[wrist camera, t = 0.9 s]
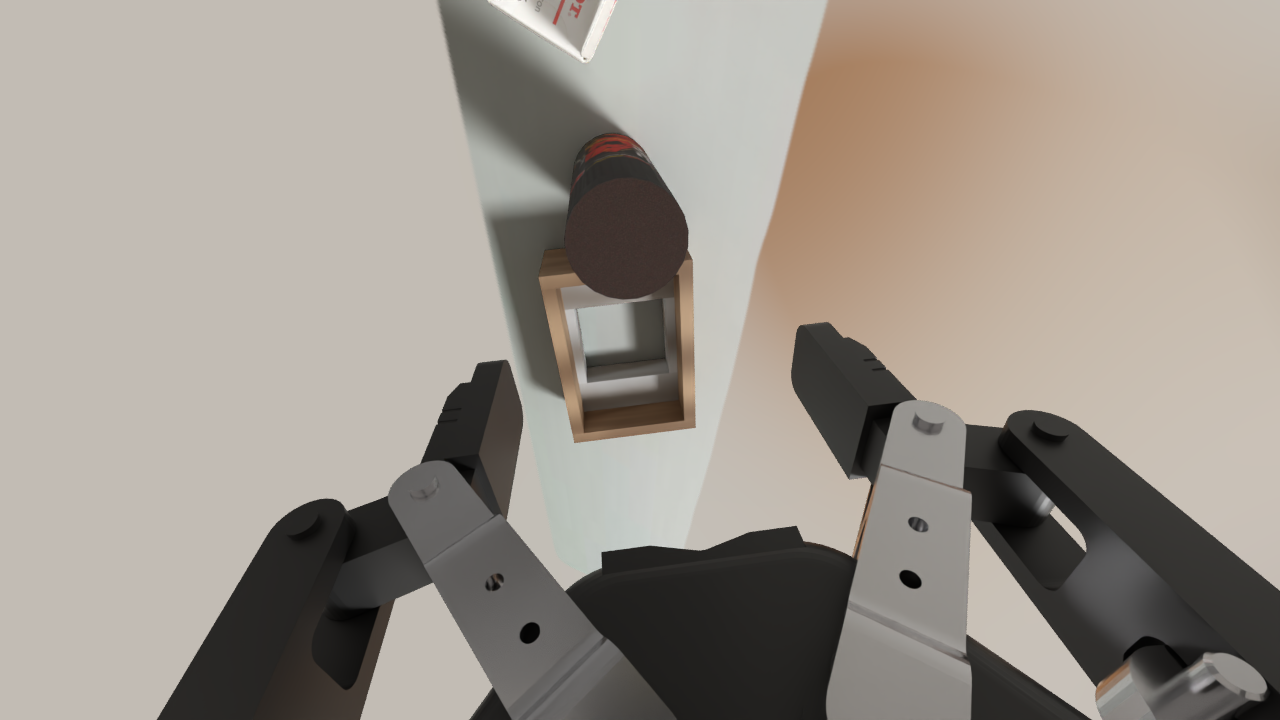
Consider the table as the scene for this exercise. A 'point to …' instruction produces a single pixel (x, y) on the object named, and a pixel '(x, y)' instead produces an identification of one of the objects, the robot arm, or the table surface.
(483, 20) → the table surface
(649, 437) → the table surface
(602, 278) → the deodorant
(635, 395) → the light wooden box
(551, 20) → the ink cartridge box
